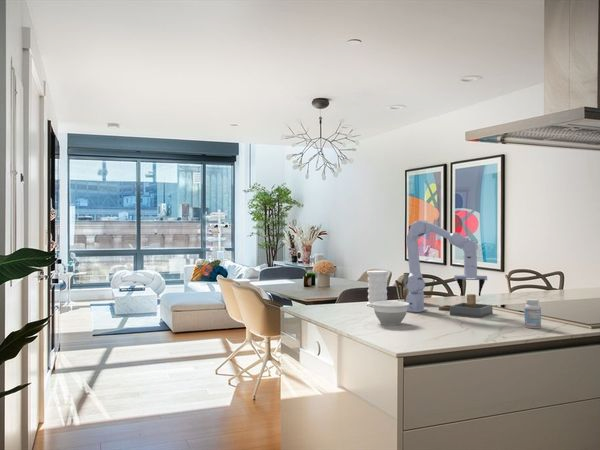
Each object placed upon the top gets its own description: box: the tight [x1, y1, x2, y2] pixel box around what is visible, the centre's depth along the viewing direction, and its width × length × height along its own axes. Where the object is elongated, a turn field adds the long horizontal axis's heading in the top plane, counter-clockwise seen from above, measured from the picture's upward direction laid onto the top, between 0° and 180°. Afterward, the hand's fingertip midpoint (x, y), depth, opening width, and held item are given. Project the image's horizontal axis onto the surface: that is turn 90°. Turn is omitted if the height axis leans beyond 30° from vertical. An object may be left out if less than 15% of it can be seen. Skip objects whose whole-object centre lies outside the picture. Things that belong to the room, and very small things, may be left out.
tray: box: [449, 302, 494, 319], centre depth 256 cm, size 15×15×4 cm
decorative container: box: [366, 270, 389, 307], centre depth 289 cm, size 12×12×18 cm
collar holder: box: [438, 304, 452, 312], centre depth 271 cm, size 8×8×2 cm
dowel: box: [466, 293, 477, 308], centre depth 256 cm, size 4×4×8 cm
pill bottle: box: [523, 298, 542, 330], centre depth 220 cm, size 6×6×11 cm
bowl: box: [372, 300, 409, 326], centre depth 234 cm, size 16×16×9 cm
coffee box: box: [403, 272, 410, 302], centre depth 298 cm, size 9×6×16 cm
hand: (470, 295), depth 256 cm, fingers open, 7 cm apart
